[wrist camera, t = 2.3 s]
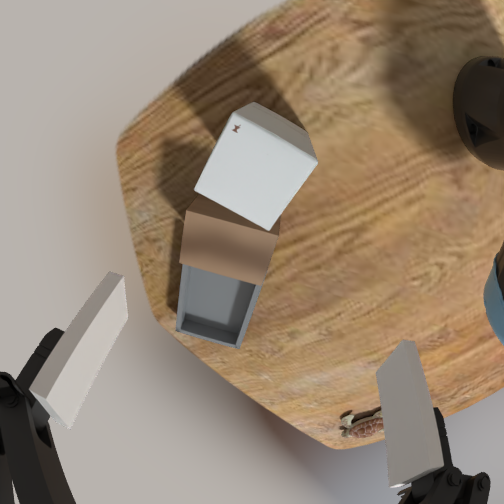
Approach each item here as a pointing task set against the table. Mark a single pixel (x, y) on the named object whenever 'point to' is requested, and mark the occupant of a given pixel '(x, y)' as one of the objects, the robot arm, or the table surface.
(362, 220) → the table surface
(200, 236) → the brown block
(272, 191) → the supplement box
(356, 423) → the decorative turtle
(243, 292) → the tray
